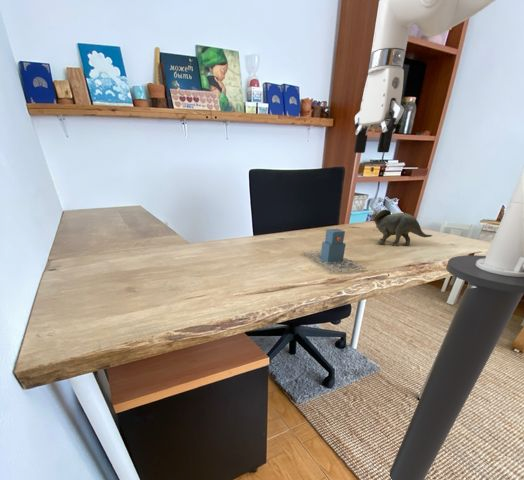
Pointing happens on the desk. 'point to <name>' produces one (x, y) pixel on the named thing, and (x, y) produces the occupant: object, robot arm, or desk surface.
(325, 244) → the slate gray tower
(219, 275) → the desk surface
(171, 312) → the desk surface
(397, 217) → the toy dinosaur
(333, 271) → the rug
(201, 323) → the desk surface
